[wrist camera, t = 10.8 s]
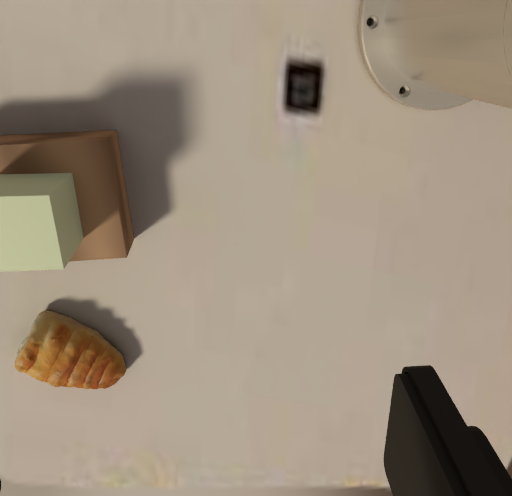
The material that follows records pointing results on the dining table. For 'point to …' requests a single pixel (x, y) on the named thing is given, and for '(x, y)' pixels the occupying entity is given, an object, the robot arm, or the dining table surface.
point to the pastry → (69, 354)
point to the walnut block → (81, 183)
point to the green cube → (38, 221)
